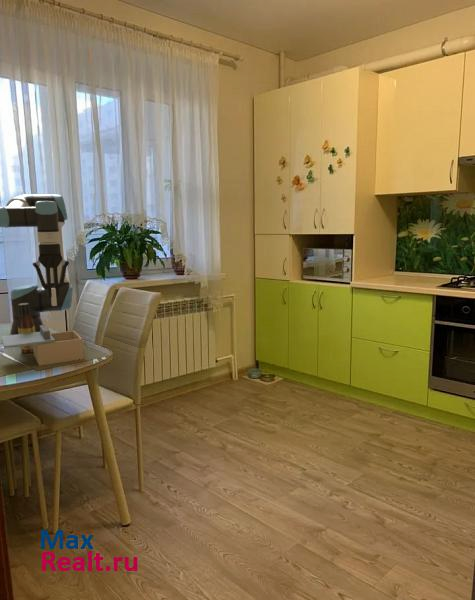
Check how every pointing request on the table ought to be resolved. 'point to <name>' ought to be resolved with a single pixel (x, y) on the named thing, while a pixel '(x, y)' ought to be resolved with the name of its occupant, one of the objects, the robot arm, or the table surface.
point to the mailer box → (60, 349)
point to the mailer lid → (28, 338)
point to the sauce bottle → (25, 324)
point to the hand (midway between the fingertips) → (54, 305)
